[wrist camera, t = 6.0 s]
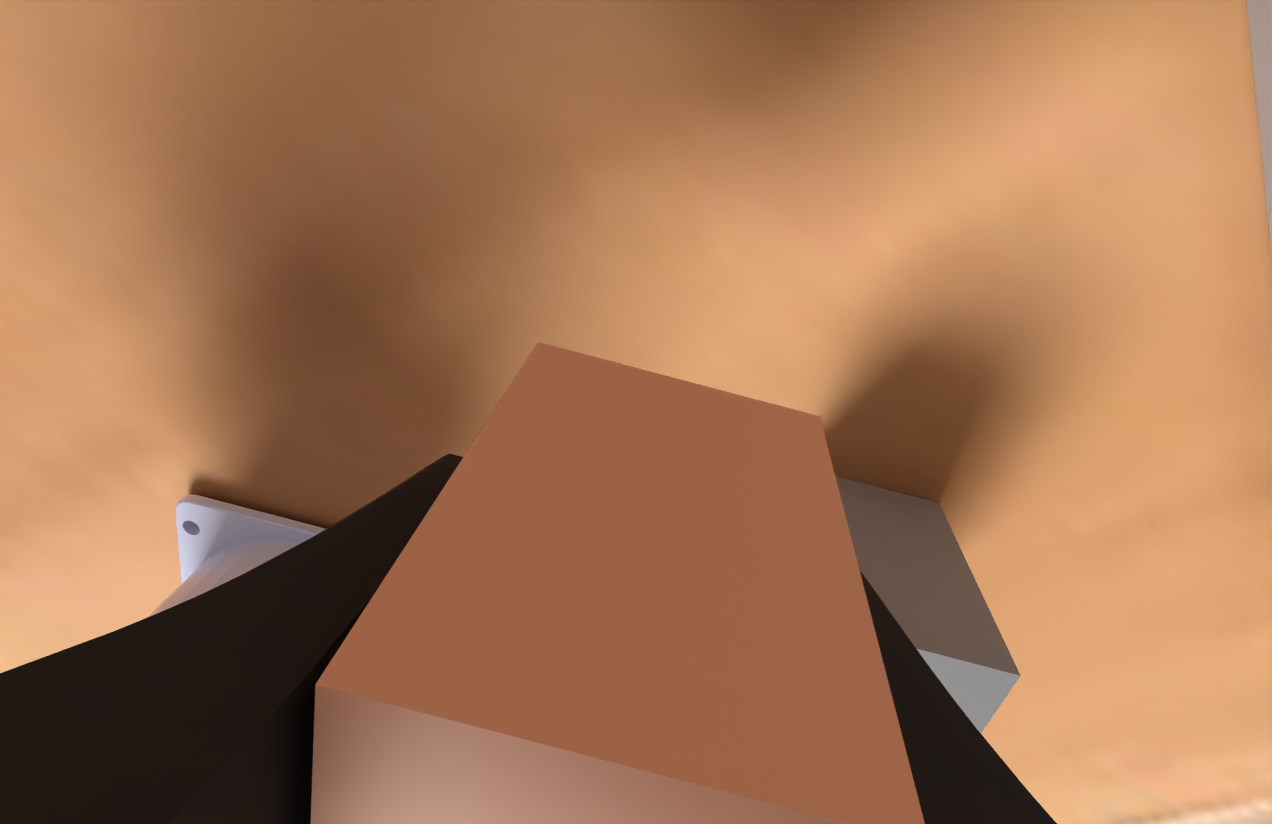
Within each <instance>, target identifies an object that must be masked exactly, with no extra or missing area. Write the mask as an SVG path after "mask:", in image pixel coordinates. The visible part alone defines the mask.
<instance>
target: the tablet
mask: <svg viewBox="0 0 1272 824" xmlns="http://www.w3.org/2000/svg"><path fill="white" fill-rule="evenodd" d="M1246 4H1247V14H1248V24H1249V34H1250V44H1251V54H1252V65H1253V75H1254V85H1255V95H1256V105H1257V115H1258V125H1259V135H1260V145H1261V155H1262V165H1263V175H1264V185H1265V195H1266V205H1267V215H1268V225H1269V235H1270V245H1271V255H1272V0H1246Z"/></svg>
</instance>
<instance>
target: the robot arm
mask: <svg viewBox="0 0 1272 824" xmlns="http://www.w3.org/2000/svg"><path fill="white" fill-rule="evenodd" d="M462 459H463V457H460V456H456V455H453V454H448V455H446V456H444V457H442V458H440V459H439V460H437V461H435V462H434V463H432V464H430V465H429V466H427V467H426V468H424V469H423V470H421V471H419V472H418V473H416V474H415V475H413V476H412V477H410V478H409V479H407V480H406V481H404V482H402V483H401V484H399V485H398V486H396V487H395V488H393V489H391V490H390V491H388V492H387V493H385V494H383V495H382V496H380V497H379V498H377V499H375V500H374V501H372V502H371V503H369V504H367V505H366V506H364V507H362V508H361V509H359V510H357V511H356V512H354V513H352V514H351V515H349V516H347V517H346V518H344V519H342V520H340V521H339V522H337V523H335V524H334V525H332V526H330V527H329V528H327V529H325V528H321V527H318V526H314V525H310V524H306V523H302V522H299V521H295V520H291V519H287V518H283V517H279V516H276V515H272V514H268V513H264V512H260V511H256V510H253V509H249V508H245V507H241V506H237V505H234V504H230V503H226V502H222V501H218V500H214V499H211V498H207V497H203V496H199V495H192V494H191V495H187V496H185V497H184V498H183V499H182V500H180V501H179V502H178V503H177V504H176V508H175V514H176V526H177V537H178V549H179V561H180V573H181V585H180V586H179V587H178V588H177V589H176V590H175V591H174V592H173V593H172V594H171V595H170V596H169V597H168V598H167V599H166V600H165V601H164V602H163V603H162V604H161V605H160V606H159V607H158V608H157V609H156V610H155V611H154V612H153V613H152V614H151V615H150V616H149V617H148V618H145V619H143V620H141V621H138V622H136V623H133V624H131V625H129V626H126V627H124V628H121V629H119V630H116V631H114V632H111V633H108V634H106V635H103V636H100V637H98V638H95V639H92V640H89V641H87V642H84V643H81V644H79V645H76V646H73V647H70V648H68V649H65V650H62V651H60V652H57V653H54V654H52V655H49V656H46V657H43V658H41V659H38V660H35V661H33V662H30V663H27V664H25V665H22V666H19V667H16V668H14V669H11V670H8V671H6V672H3V673H0V824H311V797H312V768H313V739H314V710H315V684H316V683H317V681H318V680H319V678H320V677H321V675H322V674H323V672H324V671H325V669H326V668H327V666H328V665H329V663H330V661H331V660H332V658H333V657H334V655H335V654H336V652H337V651H338V649H339V648H340V646H341V645H342V643H343V641H344V640H345V638H346V637H347V635H348V634H349V632H350V631H351V629H352V628H353V626H354V625H355V623H356V622H357V620H358V618H359V617H360V615H361V614H362V612H363V611H364V609H365V608H366V606H367V605H368V603H369V602H370V600H371V598H372V597H373V595H374V594H375V592H376V591H377V589H378V588H379V586H380V585H381V583H382V582H383V580H384V579H385V577H386V575H387V574H388V572H389V571H390V569H391V568H392V566H393V565H394V563H395V562H396V560H397V559H398V557H399V555H400V554H401V552H402V551H403V549H404V548H405V546H406V545H407V543H408V542H409V540H410V539H411V537H412V535H413V534H414V532H415V531H416V529H417V528H418V526H419V525H420V523H421V522H422V520H423V519H424V517H425V516H426V514H427V512H428V511H429V509H430V508H431V506H432V505H433V503H434V502H435V500H436V499H437V497H438V496H439V494H440V492H441V491H442V489H443V488H444V486H445V485H446V483H447V482H448V480H449V479H450V477H451V476H452V474H453V473H454V471H455V469H456V468H457V466H458V465H459V463H460V462H461V460H462ZM193 522H194V523H196V524H197V525H198V526H197V525H195V524H194V523H193ZM860 574H861V578H862V582H863V586H864V590H865V593H866V597H867V601H868V605H869V609H870V613H871V617H872V621H873V625H874V628H875V632H876V636H877V640H878V644H879V648H880V652H881V656H882V660H883V663H884V667H885V671H886V675H887V679H888V683H889V687H890V691H891V694H892V698H893V702H894V706H895V710H896V714H897V718H898V722H899V726H900V729H901V733H902V737H903V741H904V745H905V749H906V753H907V757H908V761H909V764H910V768H911V772H912V776H913V780H914V784H915V788H916V792H917V795H918V799H919V803H920V807H921V811H922V815H923V819H924V823H925V824H1057V823H1056V822H1055V821H1054V820H1053V819H1052V818H1051V817H1050V815H1049V814H1048V813H1047V812H1046V811H1045V810H1044V809H1043V807H1042V806H1041V805H1040V804H1039V803H1038V802H1037V801H1036V799H1035V798H1034V797H1033V796H1032V795H1031V794H1030V793H1029V791H1028V790H1027V789H1026V788H1025V787H1024V786H1023V784H1022V783H1021V782H1020V781H1019V780H1018V778H1017V777H1016V776H1015V775H1014V774H1013V772H1012V771H1011V770H1010V769H1009V767H1008V766H1007V765H1006V764H1005V763H1004V761H1003V760H1002V759H1001V758H1000V757H999V755H998V754H997V753H996V752H995V750H994V749H993V748H992V747H991V746H990V744H989V743H988V742H987V741H986V739H985V738H984V737H983V736H982V735H981V733H980V732H979V731H978V730H977V728H976V727H975V726H974V725H973V723H972V722H971V721H970V719H969V718H968V717H967V716H966V714H965V713H964V712H963V710H962V709H961V708H960V707H959V705H958V704H957V703H956V701H955V700H954V699H953V697H952V696H951V695H950V694H949V692H948V691H947V690H946V688H945V687H944V686H943V684H942V683H941V682H940V680H939V679H938V678H937V676H936V675H935V673H934V672H933V671H932V669H931V668H930V667H929V665H928V664H927V663H926V661H925V660H924V659H923V657H922V656H921V654H920V653H919V652H918V650H917V649H916V648H915V646H914V645H913V643H912V642H911V641H910V639H909V638H908V636H907V635H906V634H905V632H904V631H903V629H902V628H901V627H900V625H899V624H898V622H897V621H896V620H895V618H894V617H893V615H892V614H891V613H890V611H889V610H888V608H887V607H886V606H885V604H884V603H883V601H882V600H881V599H880V597H879V596H878V594H877V593H876V591H875V590H874V589H873V587H872V586H871V585H870V583H869V582H868V580H867V579H866V578H865V576H864V575H863V574H862V572H861V571H860Z"/></svg>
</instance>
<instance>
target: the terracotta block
mask: <svg viewBox="0 0 1272 824" xmlns="http://www.w3.org/2000/svg"><path fill="white" fill-rule="evenodd" d="M311 824H925V823H924V819H923V815H922V811H921V807H920V803H919V799H918V795H917V792H916V788H915V784H914V780H913V776H912V772H911V768H910V764H909V761H908V757H907V753H906V749H905V745H904V741H903V737H902V733H901V729H900V726H899V722H898V718H897V714H896V710H895V706H894V702H893V698H892V694H891V691H890V687H889V683H888V679H887V675H886V671H885V667H884V663H883V660H882V656H881V652H880V648H879V644H878V640H877V636H876V632H875V628H874V625H873V621H872V617H871V613H870V609H869V605H868V601H867V597H866V593H865V590H864V586H863V582H862V578H861V574H860V570H859V566H858V562H857V559H856V555H855V551H854V547H853V543H852V539H851V535H850V531H849V527H848V524H847V520H846V516H845V512H844V508H843V504H842V500H841V496H840V492H839V489H838V485H837V481H836V477H835V473H834V469H833V465H832V461H831V458H830V454H829V450H828V446H827V442H826V438H825V434H824V430H823V426H822V423H821V419H820V416H816V415H812V414H809V413H805V412H801V411H797V410H793V409H790V408H786V407H782V406H778V405H774V404H771V403H767V402H763V401H759V400H755V399H752V398H748V397H744V396H740V395H736V394H733V393H729V392H725V391H721V390H718V389H714V388H710V387H706V386H702V385H699V384H695V383H691V382H687V381H683V380H680V379H676V378H672V377H668V376H664V375H661V374H657V373H653V372H649V371H645V370H642V369H638V368H634V367H630V366H626V365H623V364H619V363H615V362H611V361H607V360H604V359H600V358H596V357H592V356H588V355H585V354H581V353H577V352H573V351H569V350H566V349H562V348H558V347H554V346H551V345H547V344H543V343H539V342H538V343H537V345H536V347H535V348H534V350H533V351H532V353H531V354H530V356H529V357H528V359H527V360H526V362H525V363H524V365H523V367H522V368H521V370H520V371H519V373H518V374H517V376H516V377H515V379H514V380H513V382H512V383H511V385H510V386H509V388H508V390H507V391H506V393H505V394H504V396H503V397H502V399H501V400H500V402H499V403H498V405H497V406H496V408H495V410H494V411H493V413H492V414H491V416H490V417H489V419H488V420H487V422H486V423H485V425H484V426H483V428H482V429H481V431H480V433H479V434H478V436H477V437H476V439H475V440H474V442H473V443H472V445H471V446H470V448H469V449H468V451H467V453H466V454H465V456H464V457H463V459H462V460H461V462H460V463H459V465H458V466H457V468H456V469H455V471H454V473H453V474H452V476H451V477H450V479H449V480H448V482H447V483H446V485H445V486H444V488H443V489H442V491H441V492H440V494H439V496H438V497H437V499H436V500H435V502H434V503H433V505H432V506H431V508H430V509H429V511H428V512H427V514H426V516H425V517H424V519H423V520H422V522H421V523H420V525H419V526H418V528H417V529H416V531H415V532H414V534H413V535H412V537H411V539H410V540H409V542H408V543H407V545H406V546H405V548H404V549H403V551H402V552H401V554H400V555H399V557H398V559H397V560H396V562H395V563H394V565H393V566H392V568H391V569H390V571H389V572H388V574H387V575H386V577H385V579H384V580H383V582H382V583H381V585H380V586H379V588H378V589H377V591H376V592H375V594H374V595H373V597H372V598H371V600H370V602H369V603H368V605H367V606H366V608H365V609H364V611H363V612H362V614H361V615H360V617H359V618H358V620H357V622H356V623H355V625H354V626H353V628H352V629H351V631H350V632H349V634H348V635H347V637H346V638H345V640H344V641H343V643H342V645H341V646H340V648H339V649H338V651H337V652H336V654H335V655H334V657H333V658H332V660H331V661H330V663H329V665H328V666H327V668H326V669H325V671H324V672H323V674H322V675H321V677H320V678H319V680H318V681H317V683H316V684H315V710H314V739H313V768H312V797H311Z"/></svg>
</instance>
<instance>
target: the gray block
mask: <svg viewBox="0 0 1272 824" xmlns="http://www.w3.org/2000/svg"><path fill="white" fill-rule="evenodd" d="M835 477H836V481H837V485H838V489H839V492H840V496H841V500H842V504H843V508H844V512H845V516H846V520H847V524H848V527H849V531H850V535H851V539H852V543H853V547H854V551H855V555H856V559H857V562H858V566H859V570H860V571H861V572H862V574H863V575H864V576H865V578H866V579H867V580H868V582H869V583H870V585H871V586H872V587H873V589H874V590H875V591H876V593H877V594H878V596H879V597H880V599H881V600H882V601H883V603H884V604H885V606H886V607H887V608H888V610H889V611H890V613H891V614H892V615H893V617H894V618H895V620H896V621H897V622H898V624H899V625H900V627H901V628H902V629H903V631H904V632H905V634H906V635H907V636H908V638H909V639H910V641H911V642H912V643H913V645H914V646H915V648H916V649H917V650H918V652H919V653H920V654H921V656H922V657H923V659H924V660H925V661H926V663H927V664H928V665H929V667H930V668H931V669H932V671H933V672H934V673H935V675H936V676H937V678H938V679H939V680H940V682H941V683H942V684H943V686H944V687H945V688H946V690H947V691H948V692H949V694H950V695H951V696H952V697H953V699H954V700H955V701H956V703H957V704H958V705H959V707H960V708H961V709H962V710H963V712H964V713H965V714H966V716H967V717H968V718H969V719H970V721H971V722H972V723H973V725H974V726H975V727H976V728H977V730H978V731H979V732H980V733H982V731H983V730H984V728H985V727H986V725H987V724H988V722H989V721H990V719H991V718H992V716H993V715H994V714H995V712H996V711H997V709H998V708H999V706H1000V705H1001V703H1002V702H1003V700H1004V699H1005V698H1006V696H1007V695H1008V693H1009V692H1010V690H1011V689H1012V687H1013V686H1014V684H1015V683H1016V681H1017V680H1018V679H1019V677H1020V674H1019V672H1018V670H1017V667H1016V665H1015V663H1014V661H1013V659H1012V657H1011V655H1010V653H1009V650H1008V648H1007V646H1006V644H1005V642H1004V640H1003V638H1002V636H1001V634H1000V631H999V629H998V627H997V625H996V623H995V621H994V619H993V617H992V615H991V612H990V610H989V608H988V606H987V604H986V602H985V600H984V598H983V596H982V593H981V591H980V589H979V587H978V585H977V583H976V581H975V579H974V576H973V574H972V572H971V570H970V568H969V566H968V564H967V562H966V560H965V557H964V555H963V553H962V551H961V549H960V547H959V545H958V543H957V541H956V538H955V536H954V534H953V532H952V530H951V528H950V526H949V524H948V522H947V519H946V517H945V515H944V513H943V511H942V509H941V507H940V505H939V503H938V502H934V501H930V500H926V499H923V498H919V497H915V496H911V495H907V494H903V493H900V492H896V491H892V490H888V489H884V488H881V487H877V486H873V485H869V484H865V483H862V482H858V481H854V480H850V479H846V478H843V477H839V476H835Z"/></svg>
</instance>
